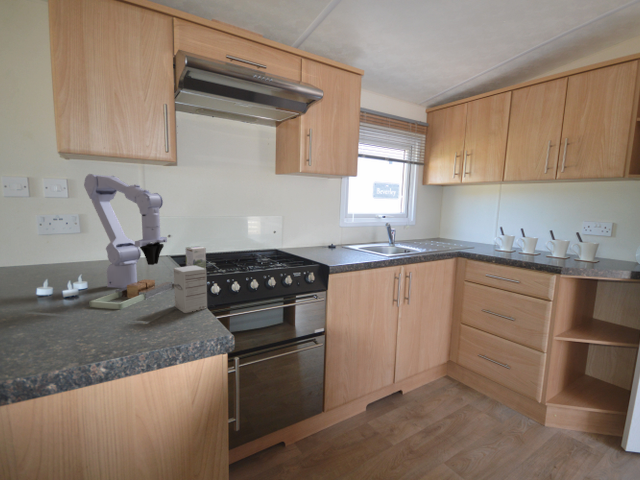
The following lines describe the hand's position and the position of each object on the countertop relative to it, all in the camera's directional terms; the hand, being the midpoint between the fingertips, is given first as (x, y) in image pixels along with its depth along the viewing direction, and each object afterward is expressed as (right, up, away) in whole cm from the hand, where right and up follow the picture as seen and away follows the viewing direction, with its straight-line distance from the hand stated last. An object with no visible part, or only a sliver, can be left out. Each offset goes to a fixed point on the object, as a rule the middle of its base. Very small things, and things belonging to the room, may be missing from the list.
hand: (152, 264), depth 116 cm
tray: (-3, -12, -15) cm, 19 cm away
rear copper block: (-1, -10, -3) cm, 10 cm away
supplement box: (+21, -13, -17) cm, 30 cm away
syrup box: (+10, -9, +15) cm, 20 cm away
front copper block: (-2, -10, -7) cm, 13 cm away
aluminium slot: (-1, -10, -3) cm, 11 cm away
